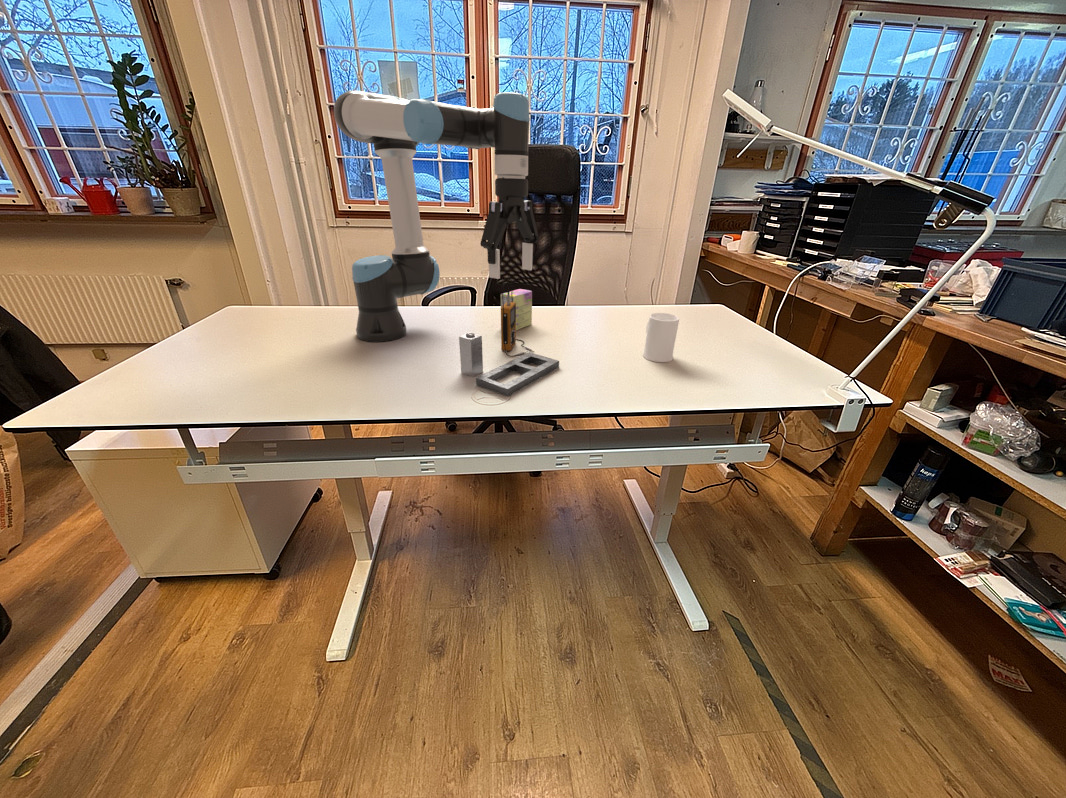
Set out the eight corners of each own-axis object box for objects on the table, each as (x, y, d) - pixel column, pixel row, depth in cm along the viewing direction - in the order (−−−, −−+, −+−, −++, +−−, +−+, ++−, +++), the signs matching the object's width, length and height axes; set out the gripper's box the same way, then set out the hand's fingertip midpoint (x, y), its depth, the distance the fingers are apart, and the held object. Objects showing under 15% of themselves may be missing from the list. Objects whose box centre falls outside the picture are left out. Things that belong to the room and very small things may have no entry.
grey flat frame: (476, 385, 103) (475, 377, 102) (529, 358, 119) (529, 352, 118) (507, 396, 98) (507, 389, 97) (558, 367, 114) (559, 360, 113)
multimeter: (531, 359, 119) (533, 287, 110) (497, 355, 121) (496, 285, 112) (541, 341, 132) (543, 276, 123) (510, 339, 134) (510, 274, 124)
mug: (633, 348, 129) (638, 309, 123) (659, 347, 130) (665, 308, 125) (650, 363, 118) (657, 321, 113) (678, 361, 120) (686, 320, 114)
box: (519, 321, 150) (519, 288, 145) (531, 324, 148) (532, 290, 142) (500, 328, 143) (499, 293, 137) (513, 332, 140) (513, 296, 135)
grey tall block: (461, 373, 110) (458, 334, 105) (471, 368, 112) (470, 330, 108) (472, 377, 108) (470, 338, 103) (483, 372, 110) (481, 334, 106)
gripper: (489, 176, 84) (491, 284, 94) (554, 178, 103) (550, 268, 112) (461, 176, 88) (466, 279, 98) (529, 178, 106) (527, 264, 116)
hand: (511, 273), depth 105 cm, fingers open, 13 cm apart
